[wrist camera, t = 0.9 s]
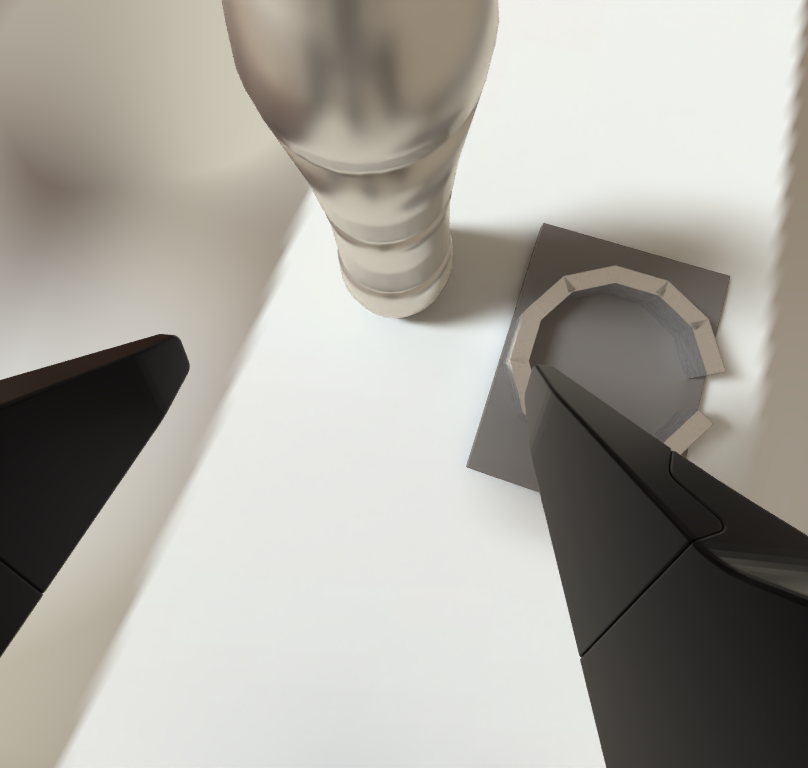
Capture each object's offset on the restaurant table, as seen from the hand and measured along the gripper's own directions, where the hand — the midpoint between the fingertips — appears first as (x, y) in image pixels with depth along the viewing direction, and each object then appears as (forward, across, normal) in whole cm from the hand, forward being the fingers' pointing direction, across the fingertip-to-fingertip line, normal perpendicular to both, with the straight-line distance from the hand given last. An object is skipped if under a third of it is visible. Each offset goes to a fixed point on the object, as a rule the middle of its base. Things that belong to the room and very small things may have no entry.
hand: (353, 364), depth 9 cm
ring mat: (+12, -12, +7) cm, 18 cm away
